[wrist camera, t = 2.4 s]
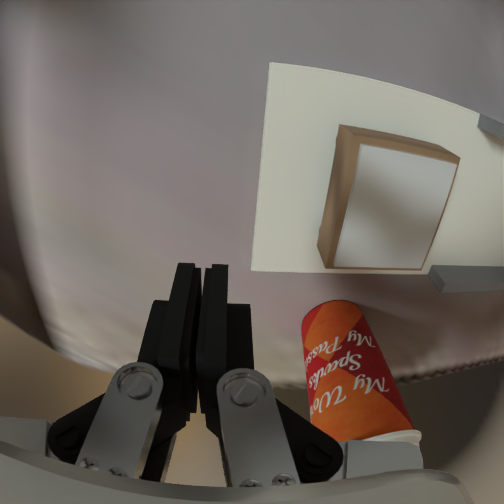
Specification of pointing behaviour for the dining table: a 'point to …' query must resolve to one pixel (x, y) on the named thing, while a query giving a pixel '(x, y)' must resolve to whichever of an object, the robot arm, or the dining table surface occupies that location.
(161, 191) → the dining table surface
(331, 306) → the paper cup
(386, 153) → the white wood-edged tile
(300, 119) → the dock bay
